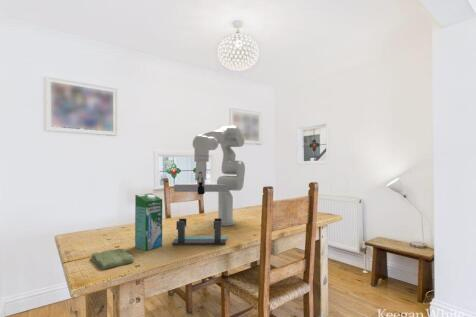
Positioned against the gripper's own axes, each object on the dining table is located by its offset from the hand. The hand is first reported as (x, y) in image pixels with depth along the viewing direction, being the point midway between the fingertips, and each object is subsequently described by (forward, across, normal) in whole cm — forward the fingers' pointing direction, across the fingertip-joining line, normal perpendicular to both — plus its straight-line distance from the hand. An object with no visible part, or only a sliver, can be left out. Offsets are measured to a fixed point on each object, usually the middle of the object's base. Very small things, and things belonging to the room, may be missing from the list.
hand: (201, 193), depth 139 cm
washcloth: (+25, +29, -34) cm, 51 cm away
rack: (+24, +7, 0) cm, 25 cm away
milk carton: (+24, +11, -24) cm, 36 cm away
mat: (+24, 0, 0) cm, 24 cm away
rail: (-1, 0, 0) cm, 1 cm away
